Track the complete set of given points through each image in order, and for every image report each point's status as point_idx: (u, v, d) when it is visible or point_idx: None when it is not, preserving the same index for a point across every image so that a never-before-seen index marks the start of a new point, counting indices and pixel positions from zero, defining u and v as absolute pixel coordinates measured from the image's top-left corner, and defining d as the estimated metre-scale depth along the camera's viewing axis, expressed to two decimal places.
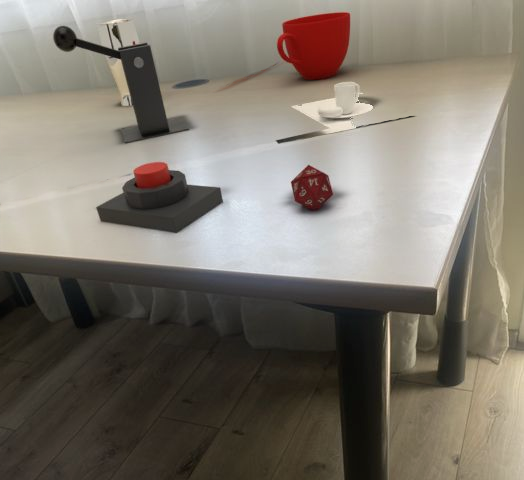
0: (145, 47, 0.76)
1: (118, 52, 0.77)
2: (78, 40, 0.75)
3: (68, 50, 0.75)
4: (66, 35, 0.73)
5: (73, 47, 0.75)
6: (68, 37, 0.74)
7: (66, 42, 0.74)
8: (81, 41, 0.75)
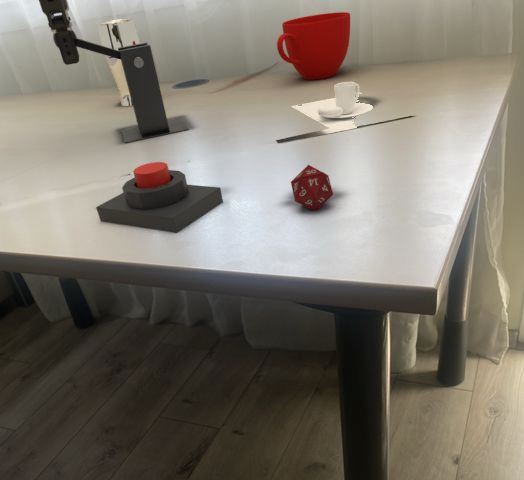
0: (145, 47, 0.76)
1: (118, 52, 0.77)
2: (78, 40, 0.75)
3: None
4: None
5: None
6: None
7: None
8: (81, 41, 0.75)
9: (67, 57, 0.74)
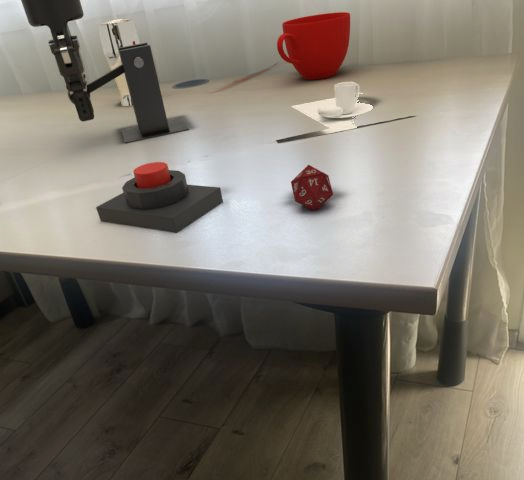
0: (145, 47, 0.76)
1: (119, 67, 0.78)
2: (87, 87, 0.78)
3: None
4: None
5: (88, 96, 0.79)
6: None
7: None
8: (90, 85, 0.78)
9: (83, 115, 0.78)
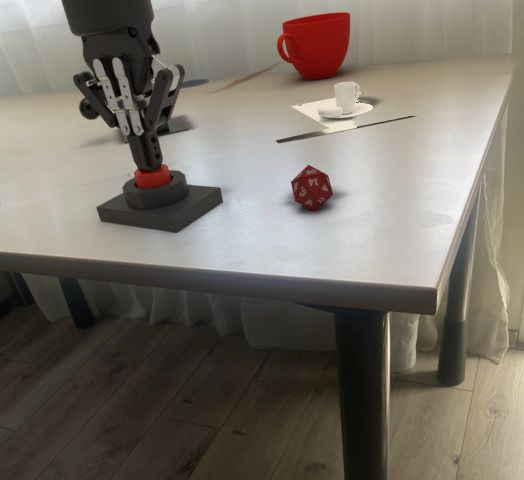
0: None
1: None
2: None
3: None
4: (87, 106, 0.79)
5: None
6: (89, 106, 0.79)
7: (92, 110, 0.79)
8: None
9: (155, 162, 0.54)
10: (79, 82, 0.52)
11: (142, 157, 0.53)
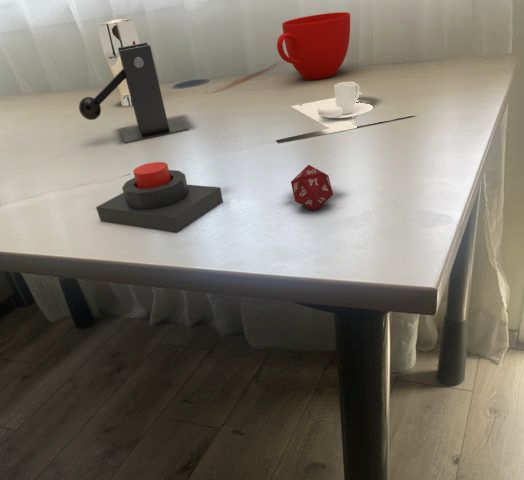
0: (145, 47, 0.76)
1: (122, 72, 0.78)
2: (96, 99, 0.79)
3: (99, 113, 0.80)
4: (87, 106, 0.79)
5: (99, 107, 0.80)
6: (89, 106, 0.79)
7: (92, 110, 0.79)
8: (98, 97, 0.79)
9: None
10: None
11: None
